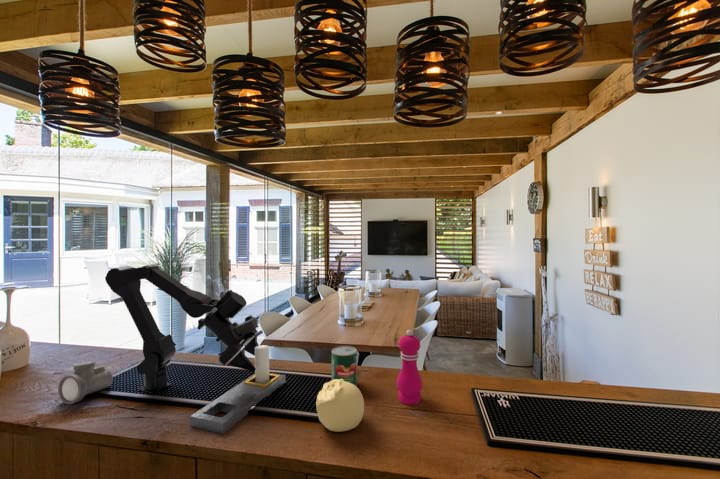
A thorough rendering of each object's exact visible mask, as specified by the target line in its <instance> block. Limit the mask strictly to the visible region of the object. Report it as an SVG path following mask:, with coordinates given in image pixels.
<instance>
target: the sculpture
mask: <svg viewBox="0 0 720 479" xmlns="http://www.w3.org/2000/svg"><path fill="white" fill-rule="evenodd" d="M322 386H323V387H322V389H321V390H320V391H319V392H318V394H317V395H316V402H315V406H316V413H317V414H318V420H319V422H320V423H321V424H322V426H324V427H325V428H326V429H327V430H328V431H331V432H335V433H336V432H338V433H339V432H340V433H341V432H346V431H351V430H352V429H354V428H357V426H359V424H360V423H361V421H362V419H363V416H364V412H365V401H364V397H363V393H361V390H360V389H359V388H358V387H357V386H355V385H353V384H352V383H349V382H345V381H344V380H343V379H334V380H332V379H331V380H330V381H327V382H325V383H323V385H322Z"/></svg>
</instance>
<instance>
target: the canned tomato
mask: <svg viewBox="0 0 720 479" xmlns="http://www.w3.org/2000/svg"><path fill="white" fill-rule="evenodd" d="M357 353H358V350H357V348H356V347H355V346H350V345H340V346H336V347H334V348H332V349H331V381H332V380H334V379H343V380H344V381H345V382H349V383H352V384H353V385H355V386H356V387H357V386H358V377H357V376H358V373H357V372H358V361H357V360H358V358H357V356H358V354H357Z"/></svg>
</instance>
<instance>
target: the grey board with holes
mask: <svg viewBox="0 0 720 479" xmlns="http://www.w3.org/2000/svg"><path fill="white" fill-rule="evenodd" d="M269 378H270V381H269V382H268V383H266V384H260V383H255V373H254V374H252V375H251V376H248V377H247V378H245V379H244V380H243V381H242V382H241V381H240V383H239V384H237V385H235V386H234V387H232V388H231V389H229V390H228V391H226V392H225V393H223V394H221V395H220V396H219V397H217V398H216V399H213V400H212V401H211V402H209V403H208V404H207V405H205V406H204V407H202V408H200V409H198V410H197V411H196V412H194V413H193V414H191V415H190V416H189V419H190V423H189V424H190V427H193V428H198V429H202V430H204V431H205V430H206V431H210V432H215V433H218V434H225V433H227V431H229V430H230V429H231V428H232V427H233V426H235V425H236V424H238V422H240V421H241V420H242V419H243V418H244V417H246V416H247V415H248V414H249V413H248V411H249V409H250V408H251V407H252V406H254V405H255V404H256V403H258V402H259V401H261V400H262V399H263V398H265V397H266V396H268V395H269V394H271V393H272V392H273V391H275V390H276V389H277V388H279V387H280V386H281V387H283V386H284V385H285V384H286V382H287V381H286V374H278V373H273V372H269ZM284 383H285V384H284ZM283 384H284V385H283ZM282 385H283V386H282ZM281 387H280V388H281ZM280 388H279V389H280ZM276 391H277V390H276ZM276 391H275V392H276ZM271 395H272V394H271ZM219 412H221V413H226V414H225V415H223V416H222V417H221V416H220V417H219V416H216V414H218V413H219Z"/></svg>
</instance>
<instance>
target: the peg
mask: <svg viewBox="0 0 720 479" xmlns="http://www.w3.org/2000/svg"><path fill="white" fill-rule="evenodd" d="M254 367H255V368H256V370H255V371H254V374H255V383H260V384H266V383H268V382H269V381H270V378H269V373H270V347H269V345H266V344H265V345H264V344H261V345H259V346H257V347H255V356H254Z"/></svg>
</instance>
